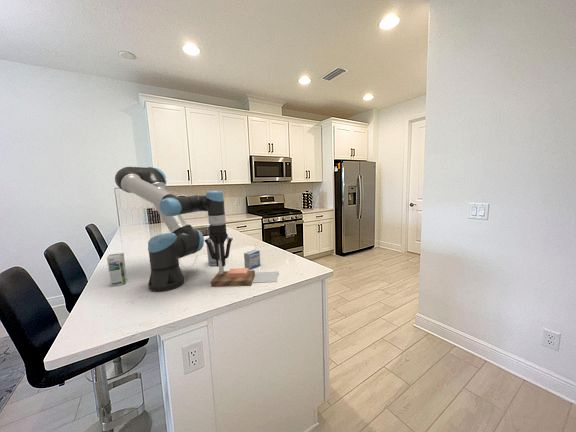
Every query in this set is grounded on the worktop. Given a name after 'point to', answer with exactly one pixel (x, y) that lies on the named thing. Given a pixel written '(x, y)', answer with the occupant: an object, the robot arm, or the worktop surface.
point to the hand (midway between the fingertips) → (221, 272)
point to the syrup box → (117, 269)
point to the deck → (232, 280)
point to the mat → (265, 277)
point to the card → (238, 272)
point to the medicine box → (252, 259)
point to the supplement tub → (210, 260)
